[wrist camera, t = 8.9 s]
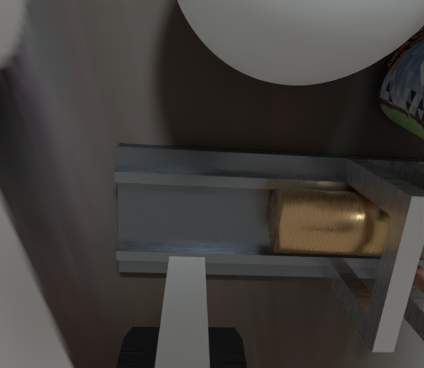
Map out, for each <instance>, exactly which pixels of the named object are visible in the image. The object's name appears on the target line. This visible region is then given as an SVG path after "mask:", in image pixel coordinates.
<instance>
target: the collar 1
mask: <svg viewBox="0 0 424 368" xmlns="http://www.w3.org/2000/svg"><path fill="white" fill-rule="evenodd" d="M344 180H346V181H347V182H348V184H349V185H350V186H352V187H353V188H354V189H356V190H357V191H358V192H360V193H361V194H362V195H364V196H365V197H366V198H368V199H369V200H370V201H372V202H373V203H374V204H376V205H377V206H379V207H380V208H381V209H383V210H384V211H385V212H387V213H388V214H389V215H391V218H390V222H389V227H388V231H387V235H386V239H385V243H384V247H383V252H382V256H381V260H380V264H379V268H378V272H377V277H376V281H375V285H374V289H373V293H372V294H371V293H370V291H369V290H368V289H367V288H366V286H365V285H364V284H363V283H362V281H361V280H360V279H359V278H358V276H357V275H356V274H355V273H354V271H353V270H352V269H351V268H350V266H342V265H332V266H327V269H326V274H325V278H326V280H327V282H328V283H329V285H330V286H331V288H332V289H333V291H334V293H335V294H336V296H337V297H338V299H339V300H340V302H341V304H342V305H343V307H344V308H345V310H346V311H347V313H348V315H349V316H350V318H351V319H352V321H353V322H354V324H355V326H356V327H357V329H358V330H359V332H360V333H361V335H362V337H363V338H364V340H365V341H366V343H367V344H368V346H369V348H370V349H371V351H372V352H394V349H395V345H396V342H397V338H398V334H399V331H400V327H401V324H402V320H403V316H404V313H405V309H406V306H407V302H408V298H409V295H410V291H411V288H412V284H413V280H414V277H415V273H416V270H417V266H418V263H419V259H420V255H421V252H422V248H423V245H424V190H422V189H420V188H418V187H416V186H414V185H412V184H410V183H408V182H407V181H405V180H403V179H401V178H399V177H397V176H395V175H393V174H392V173H390V172H388V171H386V170H384V169H382V168H380V167H378V166H376V165H375V164H373V163H371V162H369V161H367V160H365V159H348V158H347V163H346V168H345V173H344Z"/></svg>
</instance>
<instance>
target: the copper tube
mask: <svg viewBox="0 0 424 368" xmlns="http://www.w3.org/2000/svg"><path fill="white" fill-rule="evenodd" d="M390 218H391V215H389V214H388V213H387V212H385V211H384V210H383V209H381V208H380V207H379V206H377V205H376V204H374V203H373V202H372V201H370V200H369V199H368V198H366V197H365V196H364V195H362V194H361V193H360V192H348V191H328V190H308V189H288V188H276V189H275V190H274V191H273V193H272V196H271V200H270V206H269V215H268V231H269V240H270V245H271V248H272V250H273V251H274V252H279V253H306V254H333V255H359V256H382V252H383V247H384V243H385V239H386V235H387V231H388V227H389V222H390ZM420 258H424V245H423V248H422V252H421V255H420Z"/></svg>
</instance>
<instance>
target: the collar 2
mask: <svg viewBox="0 0 424 368" xmlns="http://www.w3.org/2000/svg"><path fill="white" fill-rule="evenodd" d="M395 176H397V177H399V178H401V179H403V180H405V181H407V182H408V183H410V184H412V185H414V186H416V187H418V188H420V189H422V190H424V165H422V164H419V163H417V162H406V161H398V165H397V169H396V173H395ZM377 272H378V268H373V271H372V275H371V279H372V281H373V282H374V283H375V281H376V277H377ZM403 317H404V318H405V320H406V321H407V322H408V323H409V324H410V325H411V327H412V328H413V329H414V330H415V331H416V332H417V334H418V335H419V336H420V337H421V338H422V340H423V341H424V293H423V292H422V291H421V290H420V289H419V288H418V287H417V286H416V285H415V284H414V283H413V284H412V288H411V291H410V295H409V298H408V302H407V306H406V309H405V313H404V316H403Z"/></svg>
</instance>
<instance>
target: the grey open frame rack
mask: <svg viewBox="0 0 424 368" xmlns="http://www.w3.org/2000/svg"><path fill="white" fill-rule="evenodd" d="M347 158H348V159H365V160H367V161H369V162H371V163H373V164H375V165H376V166H378V167H380V168H382V169H384V170H386V171H388V172H390V173H392V174H393V175H395V173H396V169H397V165H398V161H406V162H417V163H419V164H422V165H424V159H410V158H391V157H372V156H353V155H334V154H315V153H296V152H277V151H257V150H238V149H219V148H200V147H181V146H162V145H143V144H124V143H120V144H119V145H118V146H117V169H116V170H115V182H117V190H118V248H117V250H116V260H119V272H139V273H167V270H168V262H169V256H178V257H205V272H206V274H215V275H253V276H291V277H325V274H326V269H327V266H332V265H342V266H350V268H351V269H352V270H353V271H354V273H355V274H356V275H357V276H358V278H367V279H371V275H372V271H373V268H379V264H380V260H381V256H359V255H333V254H306V253H279V252H274V251H273V250H272V248H271V245H270V240H269V231H268V215H269V206H270V200H271V196H272V193H273V191H274V190H275V189H276V188H288V189H308V190H328V191H348V192H358V191H357V190H356V189H354V188H353V187H352V186H350V185H349V184H348V182H347V181H346V180H344V173H345V168H346V163H347ZM417 268H423V269H424V258H420V259H419V263H418V266H417Z"/></svg>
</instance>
